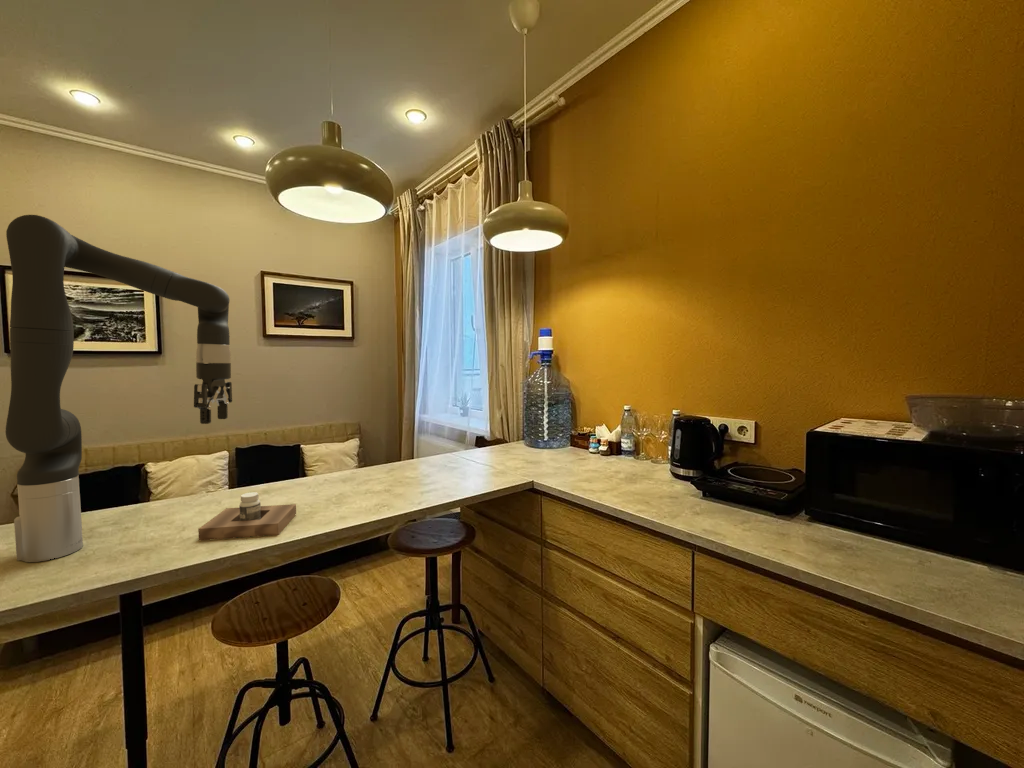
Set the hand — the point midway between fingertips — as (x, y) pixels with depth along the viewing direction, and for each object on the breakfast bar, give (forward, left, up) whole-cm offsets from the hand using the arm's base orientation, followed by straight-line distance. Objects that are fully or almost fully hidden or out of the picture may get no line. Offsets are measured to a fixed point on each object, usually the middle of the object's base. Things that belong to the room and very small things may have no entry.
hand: (214, 421), depth 109 cm
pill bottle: (+10, -5, -28) cm, 30 cm away
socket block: (+10, -5, -28) cm, 30 cm away
